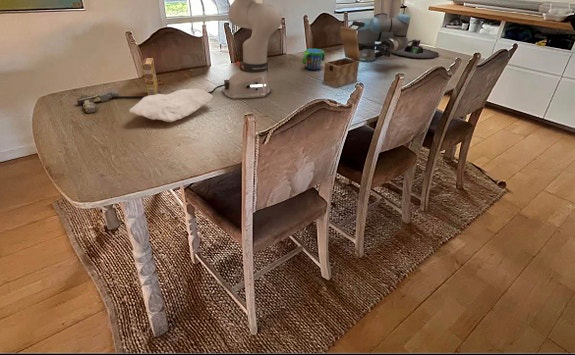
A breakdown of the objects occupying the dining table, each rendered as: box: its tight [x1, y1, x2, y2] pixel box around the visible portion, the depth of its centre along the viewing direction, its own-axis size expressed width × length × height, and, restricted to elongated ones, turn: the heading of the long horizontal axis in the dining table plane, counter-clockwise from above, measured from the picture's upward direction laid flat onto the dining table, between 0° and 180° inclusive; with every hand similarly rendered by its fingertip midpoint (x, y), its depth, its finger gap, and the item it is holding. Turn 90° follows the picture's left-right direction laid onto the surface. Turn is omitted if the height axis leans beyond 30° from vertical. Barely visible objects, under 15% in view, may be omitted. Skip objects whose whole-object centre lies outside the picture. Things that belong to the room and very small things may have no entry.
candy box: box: [141, 57, 160, 96], centre depth 163 cm, size 9×4×15 cm, turn 13°
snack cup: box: [302, 48, 326, 71], centre depth 209 cm, size 16×10×10 cm
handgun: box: [76, 89, 120, 114], centre depth 155 cm, size 3×18×15 cm
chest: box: [322, 57, 360, 88], centre depth 190 cm, size 17×9×10 cm, turn 133°
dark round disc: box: [392, 38, 439, 59], centre depth 252 cm, size 35×35×9 cm
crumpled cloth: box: [129, 88, 214, 123], centre depth 147 cm, size 24×35×9 cm
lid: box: [340, 20, 365, 62], centre depth 187 cm, size 17×9×10 cm
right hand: (365, 52), depth 196 cm, fingers open, 13 cm apart
